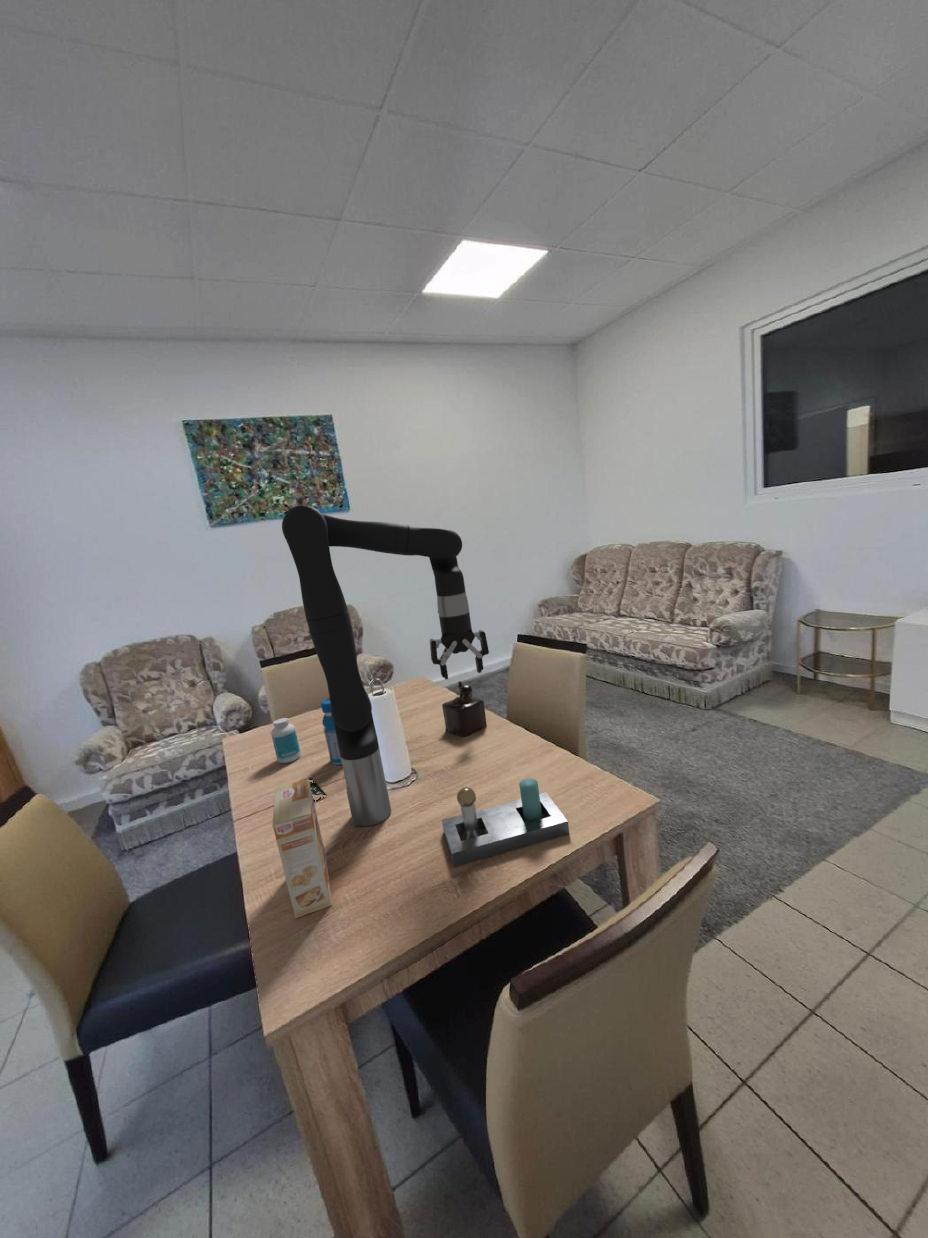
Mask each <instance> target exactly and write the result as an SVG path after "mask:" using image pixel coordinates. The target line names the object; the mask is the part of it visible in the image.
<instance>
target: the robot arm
mask: <svg viewBox="0 0 928 1238" xmlns="http://www.w3.org/2000/svg"><path fill="white" fill-rule="evenodd" d="M281 530H282V533H283V537H284V538H285V539H284V540H285V541H286V543H287V545H288V549H289V550H290V553H291V556H292V559H293V562H294V564H295V567H296V570H297V574H298V578H299V584H300V585H299V587H300V593H301V599H302V600H301V601H302V606H303V610H304V615H305V618H306V619H305V621H306V623H307V626H308V627H307V628H308V631H309V634H310V638H311V641H312V645H313V647H314V650H315V652H316V655H317V658H318V661H319V663H320V666H321V669H322V670H323V673H324V676H325V681H326V684H327V685H326V686H327V689H328V695H329V697H328V698H330V707H331V716H332V719H333V721H334V726H335V731H336V736H337V742H338V747H339V752H340V756H341V761H342V764H341V765H342V770H343V774H344V779H345V783H346V795H347V801H348V806H349V809H350V811H349V812H350V815H351V819H352V824H353V827H357V826H358V827H359V826H360V827H369V826H370V827H371V826H374V825H377V824H380V823H382V822H384V821H385V820H387V819H388V818H389V817H390V815H391V813H392V808H391V801H390V798H389V792H388V787H387V781H386V776H385V771H384V765H383V761H382V756H381V750H380V746H379V740H378V735H377V731H376V726H375V722H374V718H373V713H372V711H373V707H372V703H371V700H370V696H369V694H368V692H367V690H366V689H365V687H364V683H363V680H362V677H361V675H360V671H359V666H358V660H357V651H356V649H357V648H356V643H355V636H354V631H353V630H354V629H353V625H352V620H351V617H350V613H349V610H348V605H347V603H346V600H345V597H344V592H343V591H342V587H341V585H340V583H339V580H338V578H337V576H336V573H335V570H334V567H333V566H334V565H333V562H332V561H333V560H332V558H331V557H332V555H331V550H330V547H331V548H333V547H338V548H339V547H340V548H341V547H342V548H352V549H353V548H354V549H359V550H365V551H371V552H375V553H376V552H377V553H382V554H391V555H398V556H399V555H400V556H410V557H411V556H413V557H414V556H419V557H420V556H421V557H426V558H428V559H429V563H430V566H431V570H432V573H433V576H434V583H435V590H436V596H437V597H436V600H437V601H436V602H437V603H436V604H437V606H436V607H437V614H438V618H439V625H440V631H441V637H440V638H437V639H436V638H435V639H434V638H430V639H429V648H430V658H431V659H430V660H431V662H432V664H433V665H438V666H439V670H440V674H441V677H442V678H444V679H445V680H449V675H448V669H447V668H448V667H447V664H446V663H447V661H448V660H449V659H450V657H451V655H452V654H454V655H456V654H459V653H466V652H468V651H470V652H471V653H473V654H474V655H475V657H474V658H475V659H474V660H475V668H476V671H477V673H478V674H480V673H482V671H483V670H484V663H483V658H484V657H485V656H486V655H489V654H490V649H489V646H488V640H487V635H486V632H485V631H483V630H482V629H479V630H478V631H475V632H474V631H473V629H472V621H471V613H470V606H469V601H468V596H467V593H466V585H465V584H466V583H465V578H464V574H463V572H462V570H461V569H460V567H459V564H458V558H457V557H458V555H460V553H462V549H463V541H462V538H461V536H460V535H459V534H458V533H457V532H456V531H455V530H452V529H447V528H439V527H438V528H436V527H420V526H415V525H410V524H403V523H396V522H386V521H364V520H353V519H352V520H351V519H344V518H339V517H335V516H331V515H327V514H324V513H322V512H320V511H319V510H318V509H317V508H315V507H313V506H311V505H307V504H299V505H295V506H293V507H291V508H290V509H289V510H288V511H286V513H285V514H284V516H283V518H282V522H281ZM475 638H476V639H477V640H478V641H479V643H480V647H481V648H480V650H478V649H477V648H476V647H475V646H474V645H473V642H474V640H475ZM441 644H442V645H443V646H444V647H445V648H444V649H443V651H442V652H441V656H440V657H439V658H438V649H439V648H440V645H441Z"/></svg>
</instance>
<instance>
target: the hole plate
mask: <svg viewBox="0 0 928 1238" xmlns="http://www.w3.org/2000/svg"><path fill="white" fill-rule="evenodd" d="M539 796H540V804H541V811H542V816H543V817H544V818H543V817H542V819H540V820H536V821H532V822H529V823H525V822H524V820H523V819H524V815H523V807H522V800H521V798H518V799H516V800H512V801H509V802H504V803H500V804H496V805H492V806H488V807H485V808H482V809H478V810H477V809H476V803H475V802H476V800H477V795H476V792H475V791H474V789H472V788H470V787H467V786H466V787H465V786H464V787H462V788H461V789H460V790H458V793H457V795H456V800H457V802H458V804H459V805H460V809H461V810H460V811H461V814H459V815H456V816H451V817H448V818H443V819H441V823H442V830H443V834H444V838H445V840H446V844H447V848H448V850H449V854H450V858H451V861H452V864H453V867H454V868H455V867H458V866H459V867H460V866H463V865H466V864H469V863H472V862H475V861H479V860H482V859H486V858H489V857H493V856H497V855H500V854H501V855H502V854H504V853H508V852H512V851H514V850H518V849H521V848H525V847H528V846H529V847H530V846H531V845H536V844H538V843H539V844H540V843H542V842H545V841H546V842H547V841H550V840H553V839H556V838H560V837H563V836H567V835H570V828H569V827H570V826H569V820H568V819H567V818H566V817H565V815H564V814H563V813H562V812H561V810H560V808H559V807H558V806H557V805H556V804H555V802H554V801H553V799H552V798H551V796H550V795H549V794H548V792H546V791H545V792H542V793H539ZM480 831H483V832H484V834H483V835H480ZM462 836H465V839H464V840H461V838H460V837H462Z"/></svg>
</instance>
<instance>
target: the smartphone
mask: <svg viewBox="0 0 928 1238" xmlns="http://www.w3.org/2000/svg"><path fill="white" fill-rule="evenodd" d="M307 779H309V780H314V779H313V778H312V777H309V778H307ZM314 781H315V780H314ZM314 781H313V783H312V782H310V787H311V788H312V789H311V792H312V795H326V796H327V797H328V795H327V794H326V792H325V791H324V790H323V789H322V788H321V787H320V786H319V785H318V783H317V782H315V783H314ZM314 788H316V789H315V790H316V791H315V790H314ZM323 798H324V797H323ZM320 799H321V797H320V798H319V799H318V800H320ZM318 800H316V801H318ZM313 801H314V802H315V800H314V798H313ZM320 801H321V800H320ZM318 802H319V801H318Z"/></svg>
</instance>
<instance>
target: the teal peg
mask: <svg viewBox="0 0 928 1238" xmlns="http://www.w3.org/2000/svg"><path fill="white" fill-rule="evenodd" d="M518 785H519V792H520V799H521V800H522V807H523V815H524V820H523V821H524V823H529V822H532V821H536V820H540V819H543V814H542V811H541V804H540V796H539V794H540V790H539V782H538V780H537V779H534V778H531V777H530V778H529V777H528V778H524V779H522V780H520V781H519V784H518Z"/></svg>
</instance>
